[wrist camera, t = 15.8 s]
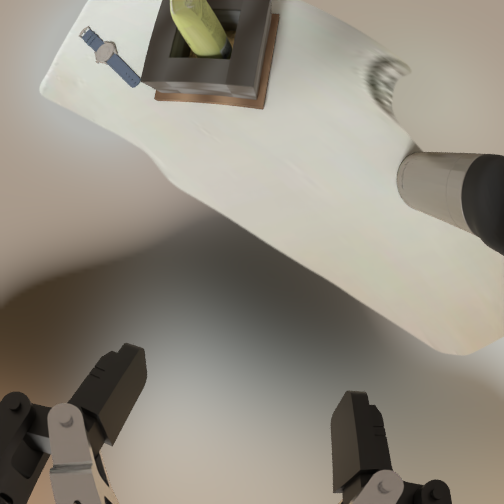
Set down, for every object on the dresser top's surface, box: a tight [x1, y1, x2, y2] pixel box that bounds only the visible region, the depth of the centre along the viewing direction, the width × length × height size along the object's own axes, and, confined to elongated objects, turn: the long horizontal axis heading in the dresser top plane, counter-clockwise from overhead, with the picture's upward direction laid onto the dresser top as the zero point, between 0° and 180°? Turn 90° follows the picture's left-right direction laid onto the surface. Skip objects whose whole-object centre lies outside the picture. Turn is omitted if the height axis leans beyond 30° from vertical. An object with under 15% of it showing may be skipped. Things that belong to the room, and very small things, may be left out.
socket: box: [141, 0, 279, 109], centre depth 31 cm, size 16×16×9 cm
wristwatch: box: [79, 26, 141, 88], centre depth 35 cm, size 4×20×1 cm, turn 42°
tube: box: [170, 0, 232, 60], centre depth 24 cm, size 6×5×20 cm
